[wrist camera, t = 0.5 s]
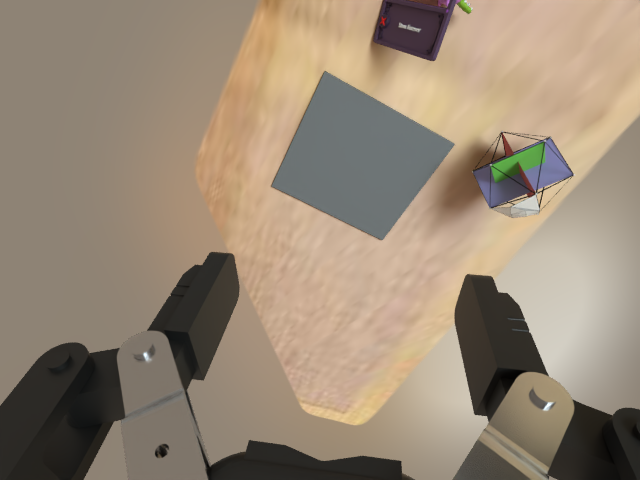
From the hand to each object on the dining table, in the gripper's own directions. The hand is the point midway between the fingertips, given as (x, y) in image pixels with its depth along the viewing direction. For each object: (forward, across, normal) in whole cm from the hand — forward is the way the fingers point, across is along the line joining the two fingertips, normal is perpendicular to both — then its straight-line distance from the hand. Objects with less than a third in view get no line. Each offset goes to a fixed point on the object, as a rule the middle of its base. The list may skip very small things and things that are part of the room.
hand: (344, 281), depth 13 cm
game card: (+24, -4, -3) cm, 25 cm away
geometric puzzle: (+26, -14, +6) cm, 30 cm away
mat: (+26, 0, +7) cm, 27 cm away
